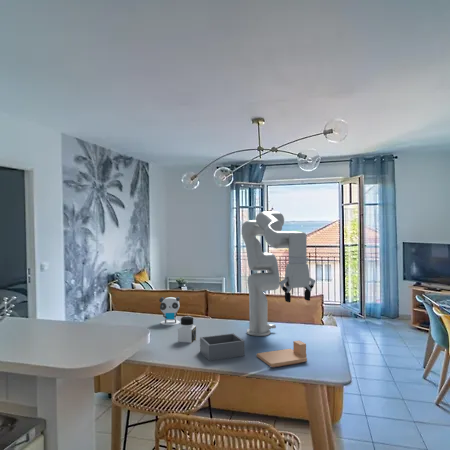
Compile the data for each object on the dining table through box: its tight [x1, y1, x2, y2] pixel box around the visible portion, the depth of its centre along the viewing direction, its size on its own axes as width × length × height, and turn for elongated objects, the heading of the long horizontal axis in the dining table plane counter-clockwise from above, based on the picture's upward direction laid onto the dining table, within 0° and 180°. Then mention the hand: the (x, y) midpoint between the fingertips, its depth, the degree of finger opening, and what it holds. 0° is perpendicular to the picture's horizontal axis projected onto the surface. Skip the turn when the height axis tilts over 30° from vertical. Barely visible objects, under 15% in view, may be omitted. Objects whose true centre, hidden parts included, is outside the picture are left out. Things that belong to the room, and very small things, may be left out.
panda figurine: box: [158, 296, 181, 326], centre depth 206 cm, size 12×11×15 cm
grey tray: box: [199, 332, 245, 362], centre depth 152 cm, size 16×12×7 cm
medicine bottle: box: [177, 315, 197, 344], centre depth 171 cm, size 7×7×12 cm
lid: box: [256, 340, 308, 368], centre depth 146 cm, size 19×13×7 cm, turn 111°
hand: (297, 300), depth 149 cm, fingers open, 9 cm apart
